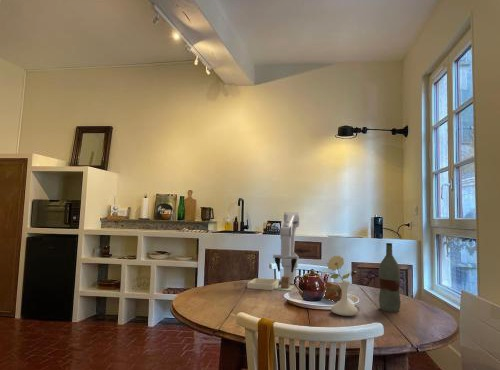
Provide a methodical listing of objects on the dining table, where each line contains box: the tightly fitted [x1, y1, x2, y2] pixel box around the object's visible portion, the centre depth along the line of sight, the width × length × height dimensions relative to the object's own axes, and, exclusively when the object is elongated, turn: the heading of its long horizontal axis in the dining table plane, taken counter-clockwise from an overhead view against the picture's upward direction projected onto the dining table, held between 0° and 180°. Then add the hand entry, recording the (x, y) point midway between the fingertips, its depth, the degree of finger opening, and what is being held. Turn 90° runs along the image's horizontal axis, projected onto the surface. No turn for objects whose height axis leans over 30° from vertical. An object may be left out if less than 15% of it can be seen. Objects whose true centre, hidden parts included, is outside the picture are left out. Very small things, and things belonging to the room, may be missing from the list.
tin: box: [323, 281, 342, 302], centre depth 183 cm, size 15×3×8 cm, turn 25°
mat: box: [275, 284, 295, 292], centre depth 208 cm, size 12×8×1 cm, turn 163°
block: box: [280, 275, 291, 289], centre depth 208 cm, size 4×4×6 cm
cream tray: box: [246, 277, 280, 291], centre depth 212 cm, size 16×15×3 cm
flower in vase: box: [326, 255, 359, 317], centre depth 158 cm, size 13×11×25 cm
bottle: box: [378, 242, 401, 313], centre depth 167 cm, size 9×9×30 cm
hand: (285, 271), depth 209 cm, fingers open, 7 cm apart
